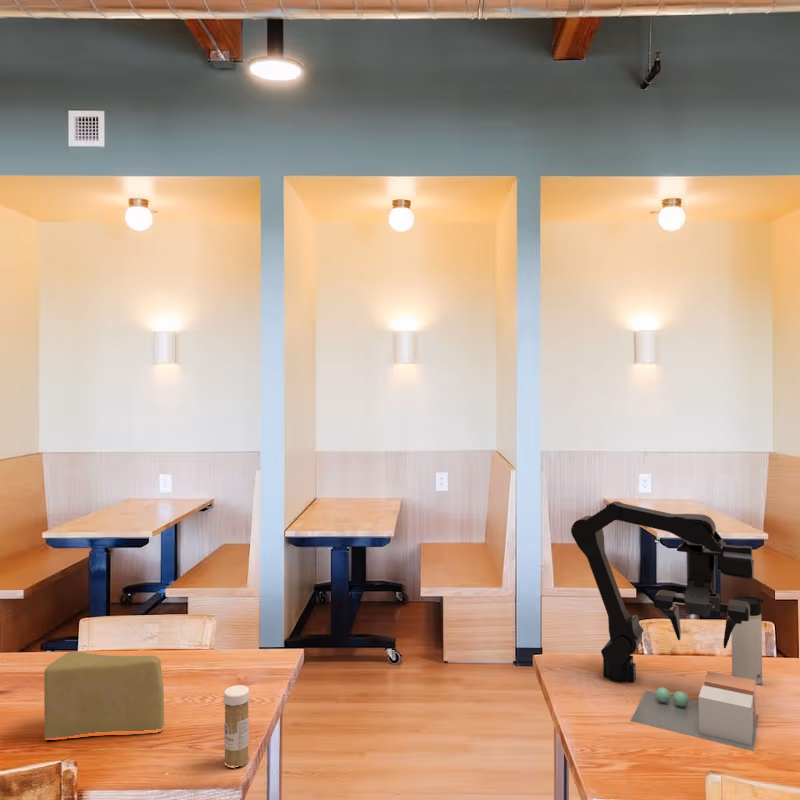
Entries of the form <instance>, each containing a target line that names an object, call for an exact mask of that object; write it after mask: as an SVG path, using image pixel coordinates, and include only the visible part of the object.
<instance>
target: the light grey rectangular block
mask: <svg viewBox="0 0 800 800" xmlns="http://www.w3.org/2000/svg"><path fill="white" fill-rule="evenodd" d="M699 691H700V692H699V695H698V702H699V733H703V734H707V735H711V736H715V737H719V738H723V739H727V740H732V741H736V742H740V743H744V744H748V745H752V738H753V695H748V694H743V693H738V692H733V691H728V690H723V689H719V688H714V687H709V686H704V684H702V685H701V689H700V690H699Z"/></svg>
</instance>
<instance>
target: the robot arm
mask: <svg viewBox="0 0 800 800" xmlns="http://www.w3.org/2000/svg"><path fill="white" fill-rule="evenodd" d="M614 521H621V522H623V523H627V524H628V523H629V524H633V525H637V526H641V527H647V528H651V529H655V530H660V531H664V532H667V533H669V534H673V535H674V536H675V537H678V538H680V539H682V540H683V542H682V544H679V545H678V547H677V548H676V551H677V552H680V553H681V552H682V553H686V587H685V589H684V590H685V591H684V596H683V597H681V596H678V594H677V592H676V591H674V590H673V591H672V590H667V589H660V590H658V591H657V592H656V594H655V595H654V600H653V601H654V602H653V603H654V607H655V608H656V609H660V611H661V612H662V613H665V614H666V615H667V616H668V619H669V620H670V622H671V624H672V628H673V630H674V633H675V636H676V639H677V641H680V640H681V638H682V637H681V636H682V635H681V634H682V633H681V630H682V629H681V619H680V609H679V608H680V607H684V613H685V614H686V615H690V616H692V615H694V616H695V615H696V616H701V617H705V618H706V617H710V615H711V612H720V613H726V614H727V616H726V620H725V628H724V633H723V634H724V637H723V649H726V648H727V646H728V643H729V641H730V640H729V639H730V637H731V632H732V630H733V628H734V626H735V625H736V624H741V623H742V621H749V617H750V605H749V603H748V602H746V601H739V600H732V599H733V598H730V599H729V600H728V603H725V602H721V595H720V593H716V556H717V571H719V572H720V574H723V576H724V577H731V578H738V579H745V580H754V575H755V574H754V572H755V571H754V570H755V567H754V565H755V559H754V558H753V547H752V546H748V545H742V546H741V545H740V546H739V545H731V544H727V543H726V541H724V539H723V538H722V536H721V535H720V534H719V533H718V531H717V529H716V524H715V521H714V520H713V519H712V518H711V517H710V516H708V515H706V514H698V513H670V512H664V511H661V510H655V509H651V508H648V507H647V508H645V507H641V506H638V505H632V504H627V503H623V502H621V501H618V500H617V501H616V500H615V501H612V502H610V503H608V504H607V505H606V507H604V508H603V509H601V510H599V511H598V512H596V513H595V514H594V515H585V516H584V517H581V518H579V519H577V520H576V521H575V522H574V523H572V526H571V528H570V533H571V536H572V538H573V540H574V541H575V543H576V545H577V548H578V549H580V551H581V552H582V553H583V554H584V555H585V557H586V559H587V561H588V564H589V567H590V569H591V572H592V575H593V578H594V581H595V583H596V586H597V589H598V592H599V594H600V597H601V600H602V602H603V606H604V609H605V611H606V614H607V618H608V619H607V620H608V635H609V638H610V639H609V640H608V641H607V642H606V644H605V645H604V646H603V648H602V649H601V651H600V652H601V656H602V659H603V660H602V669H603V671H602V672H603V675H602V677H603V678H606V679H608V680H609V681H612V682H615V683H629V684H630V683H632V684H633V683H635V681H636V680H637V664H636V663H635V662H634V655H633V654H634V653H635V652H636V651H637V649H638V647H639V646H640V645H641V643H642V640H643V632H644V631H645V630H644V628H642V626H641V623H640V619H639V616H638V614H634V615H631V613H630V612H629V611H628V610H627V608H626V606H625V603H624V600H623V597H622V595H621V592H620V589H619V586H618V584H617V580H616V579H615V576H614V573H613V570H612V568H611V567H612V566H611V565H610V561H609V559H608V556H607V554H606V549H605V536H604V530H603V529H604V528H605V527H607V526H608V525H610V524H612V523H613V522H614Z"/></svg>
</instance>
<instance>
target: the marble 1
mask: <svg viewBox="0 0 800 800" xmlns="http://www.w3.org/2000/svg"><path fill="white" fill-rule="evenodd" d="M655 692H656V693H655V695H656V698H657V699H658V700H659V701H660V702H662V703H666V702H668V701H669V700H670V696H671V693H670V690H668V689H667V688H665V687H663V686H662V687H658V688H657V689H656V690H655Z"/></svg>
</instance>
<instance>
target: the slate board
mask: <svg viewBox="0 0 800 800" xmlns="http://www.w3.org/2000/svg"><path fill="white" fill-rule="evenodd" d="M655 693H656V691H651V690H645V692H644V693H643V696H642V698H641V699H640V701H639V704H638V706H637V707H636V708H635V711H634V713H633V715H632V717H631V719H630V722H633V723H638V724H642V725H645V726H650V727H653V728H658V729H662V730H665V731H670V732H673V733H679V734H683V735H686V736H690V737H694V738H700V739H702V740H706V741H710V742H715V743H718V744H724V745H727V746H730V747H731V746H732V747H735V748H739V749H744V750H748V751H752V752H754V751H755V746H756V737H757V729H758V719H759V714H756V719H755V727H754V726H753V738H752V745H748V744H744V743H740V742H736V741H732V740H727V739H723V738H719V737H715V736H711V735H707V734H703V733H699V701H698V700H697V701H696V700H692V699H689V702H688V704H687V705H686V706H684V707H680V706H678V705H676V703H675V702H674V700H673V696H674V695H670V700H669V701H668V702H666V703H662V702H660V701H659V700H658V699H657V698H656V695H655Z"/></svg>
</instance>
